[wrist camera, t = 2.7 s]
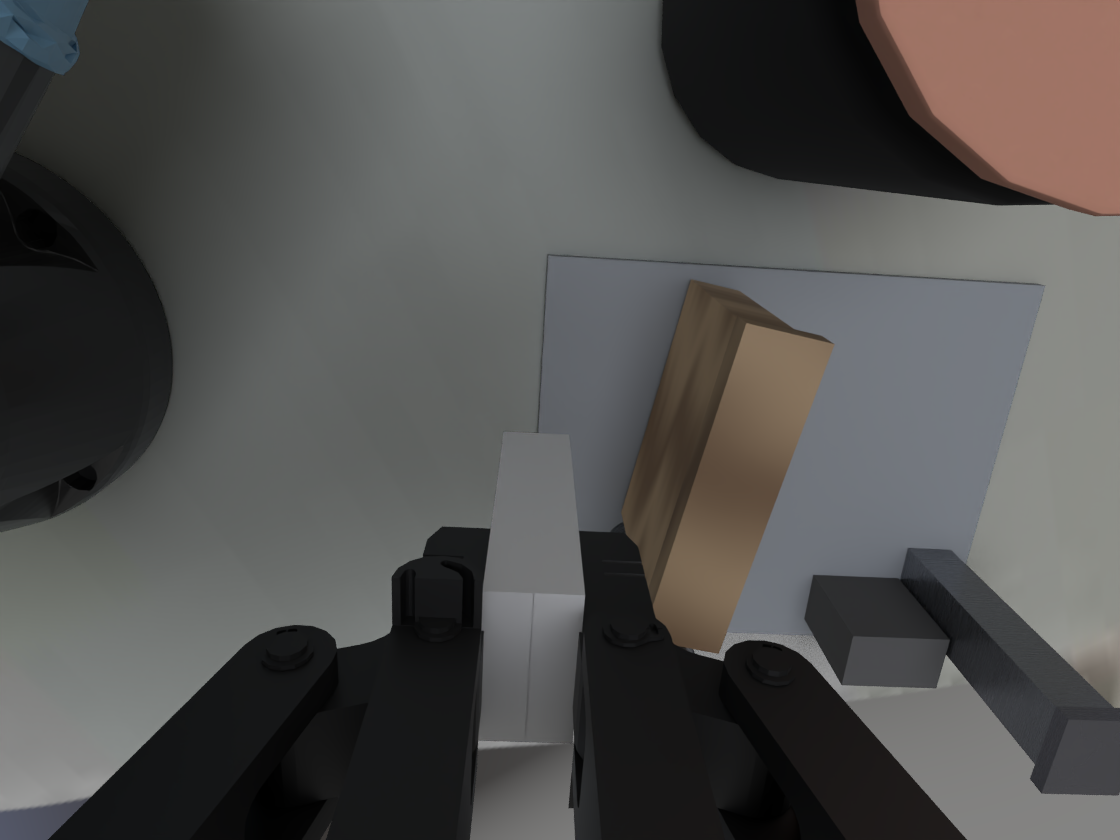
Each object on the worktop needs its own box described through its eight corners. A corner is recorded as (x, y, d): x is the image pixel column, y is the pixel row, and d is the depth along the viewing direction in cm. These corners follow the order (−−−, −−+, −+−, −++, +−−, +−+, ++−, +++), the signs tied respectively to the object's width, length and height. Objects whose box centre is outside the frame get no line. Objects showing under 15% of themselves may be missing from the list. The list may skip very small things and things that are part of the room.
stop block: (801, 613, 35) (841, 685, 31) (810, 570, 35) (853, 636, 30) (883, 617, 36) (936, 688, 31) (894, 573, 35) (949, 639, 30)
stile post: (885, 593, 35) (1041, 793, 24) (899, 537, 34) (1068, 719, 23) (938, 595, 35) (1118, 795, 24) (954, 539, 34) (1148, 722, 23)
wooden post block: (671, 522, 33) (718, 653, 24) (614, 511, 32) (641, 639, 24) (748, 287, 29) (834, 344, 21) (685, 272, 29) (746, 323, 20)
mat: (527, 619, 35) (527, 625, 35) (548, 254, 29) (548, 255, 29) (940, 635, 36) (944, 640, 36) (1038, 284, 30) (1045, 285, 30)
